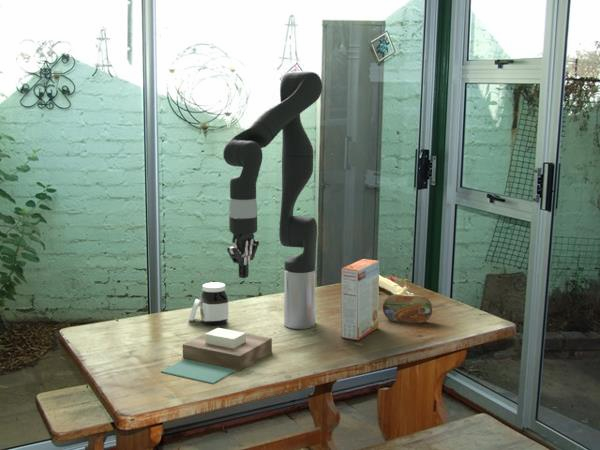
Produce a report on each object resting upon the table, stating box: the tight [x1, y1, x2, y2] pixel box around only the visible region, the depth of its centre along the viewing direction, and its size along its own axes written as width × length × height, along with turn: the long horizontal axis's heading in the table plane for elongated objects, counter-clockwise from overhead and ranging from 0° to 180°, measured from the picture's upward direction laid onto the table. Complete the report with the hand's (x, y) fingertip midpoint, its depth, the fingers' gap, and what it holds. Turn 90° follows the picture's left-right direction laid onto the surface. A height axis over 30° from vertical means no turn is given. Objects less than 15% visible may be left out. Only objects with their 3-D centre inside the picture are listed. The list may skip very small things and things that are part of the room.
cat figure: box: [379, 274, 415, 295], centre depth 274 cm, size 10×9×25 cm
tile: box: [204, 327, 247, 348], centre depth 210 cm, size 6×9×2 cm, turn 62°
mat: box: [160, 359, 237, 385], centre depth 200 cm, size 10×16×1 cm, turn 62°
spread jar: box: [188, 281, 230, 326], centre depth 240 cm, size 12×11×12 cm
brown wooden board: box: [182, 331, 273, 372], centre depth 211 cm, size 16×18×4 cm
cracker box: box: [340, 258, 380, 341], centre depth 229 cm, size 14×6×21 cm, turn 149°
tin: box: [382, 294, 433, 324], centre depth 242 cm, size 15×3×8 cm, turn 76°
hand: (243, 277), depth 215 cm, fingers closed
